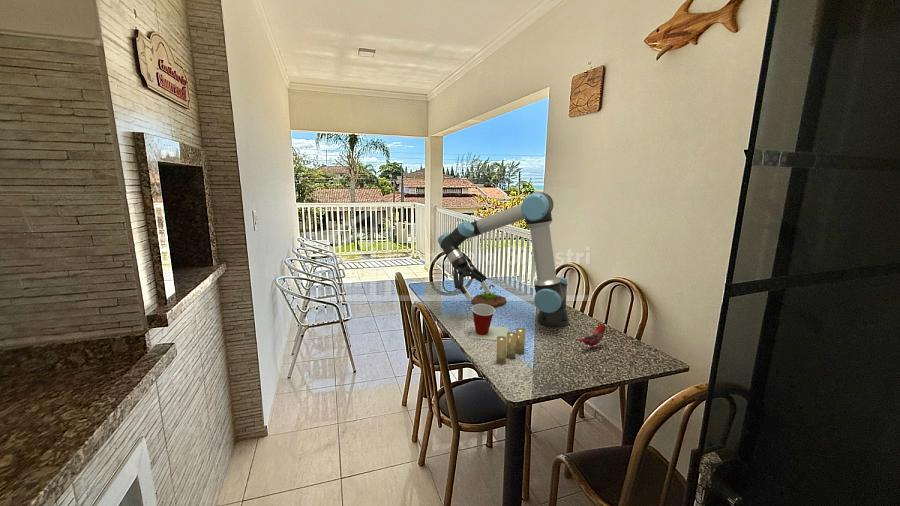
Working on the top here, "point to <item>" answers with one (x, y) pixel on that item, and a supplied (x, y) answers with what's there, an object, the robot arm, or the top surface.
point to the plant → (489, 299)
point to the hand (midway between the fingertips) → (479, 296)
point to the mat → (491, 333)
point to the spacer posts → (510, 345)
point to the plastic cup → (482, 317)
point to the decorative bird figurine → (594, 336)
